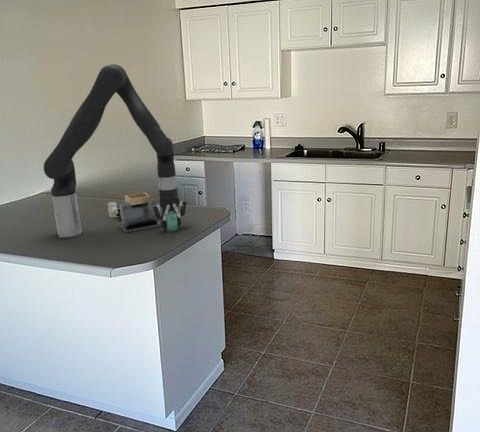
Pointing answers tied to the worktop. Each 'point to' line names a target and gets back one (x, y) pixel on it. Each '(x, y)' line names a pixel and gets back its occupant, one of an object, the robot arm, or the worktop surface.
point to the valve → (113, 210)
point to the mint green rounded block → (171, 221)
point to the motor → (138, 213)
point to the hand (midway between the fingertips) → (171, 227)
